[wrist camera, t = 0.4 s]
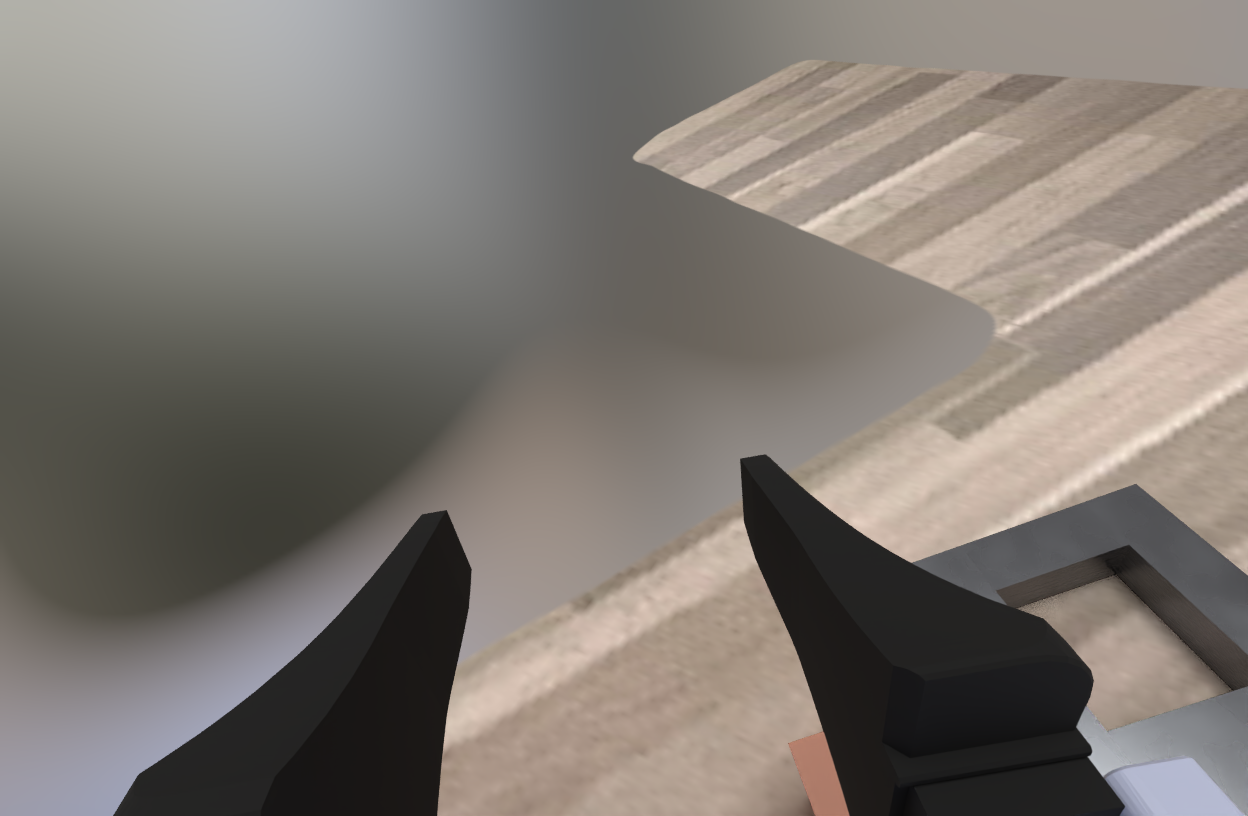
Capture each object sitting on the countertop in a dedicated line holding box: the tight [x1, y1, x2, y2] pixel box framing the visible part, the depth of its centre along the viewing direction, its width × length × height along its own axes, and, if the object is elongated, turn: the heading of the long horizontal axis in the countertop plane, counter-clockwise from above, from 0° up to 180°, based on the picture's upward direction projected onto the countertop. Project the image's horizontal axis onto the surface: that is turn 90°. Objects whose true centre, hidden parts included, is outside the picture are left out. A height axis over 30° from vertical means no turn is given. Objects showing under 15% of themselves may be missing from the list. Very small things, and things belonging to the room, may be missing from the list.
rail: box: [912, 484, 1248, 816], centre depth 19 cm, size 22×11×2 cm, turn 12°
